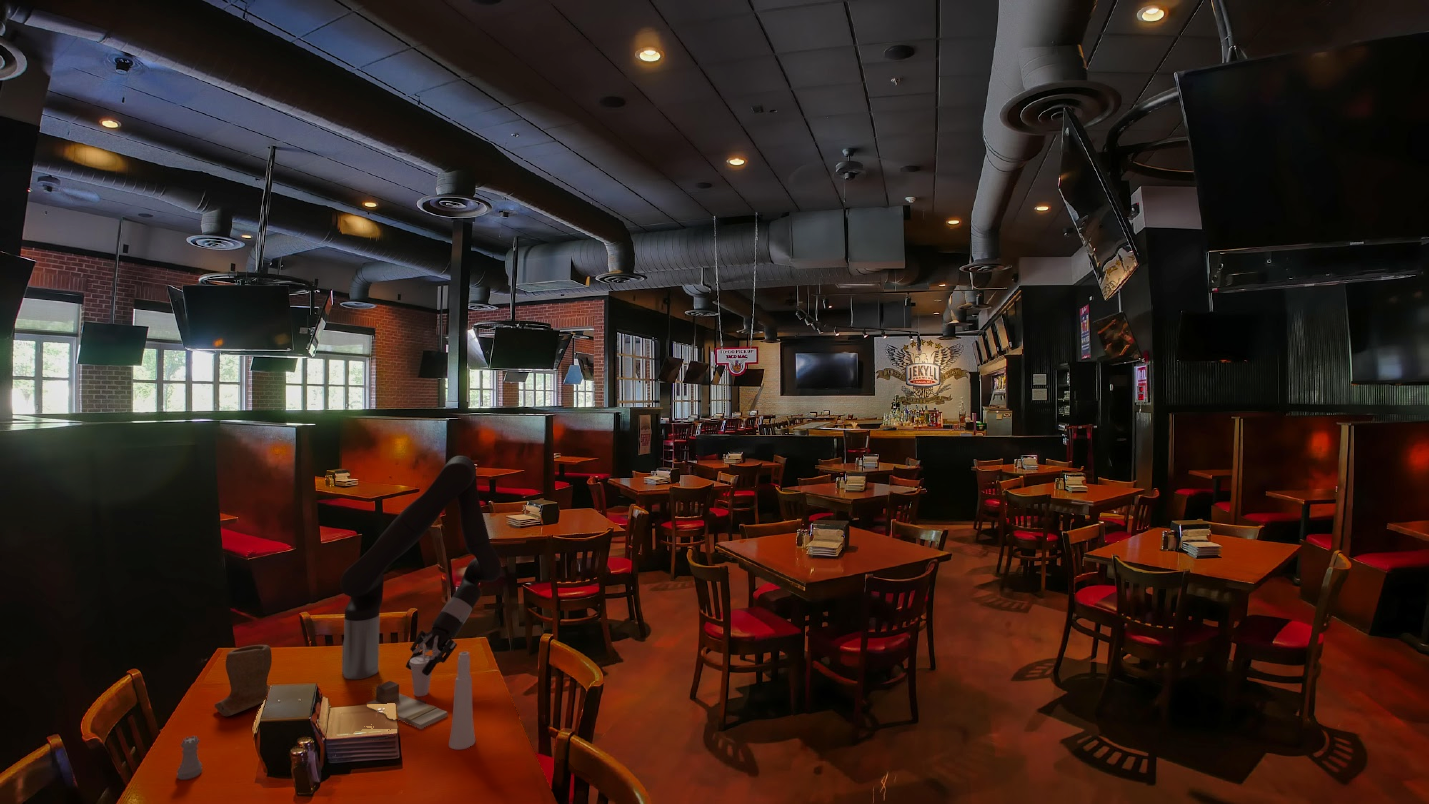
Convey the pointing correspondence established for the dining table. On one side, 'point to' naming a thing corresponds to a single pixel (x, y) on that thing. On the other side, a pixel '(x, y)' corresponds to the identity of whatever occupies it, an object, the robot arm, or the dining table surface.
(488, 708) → the dining table surface
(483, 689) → the dining table surface
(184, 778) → the rook chess piece
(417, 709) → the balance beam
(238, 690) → the brown boot
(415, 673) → the white drink cup
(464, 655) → the cosmetic bottle
